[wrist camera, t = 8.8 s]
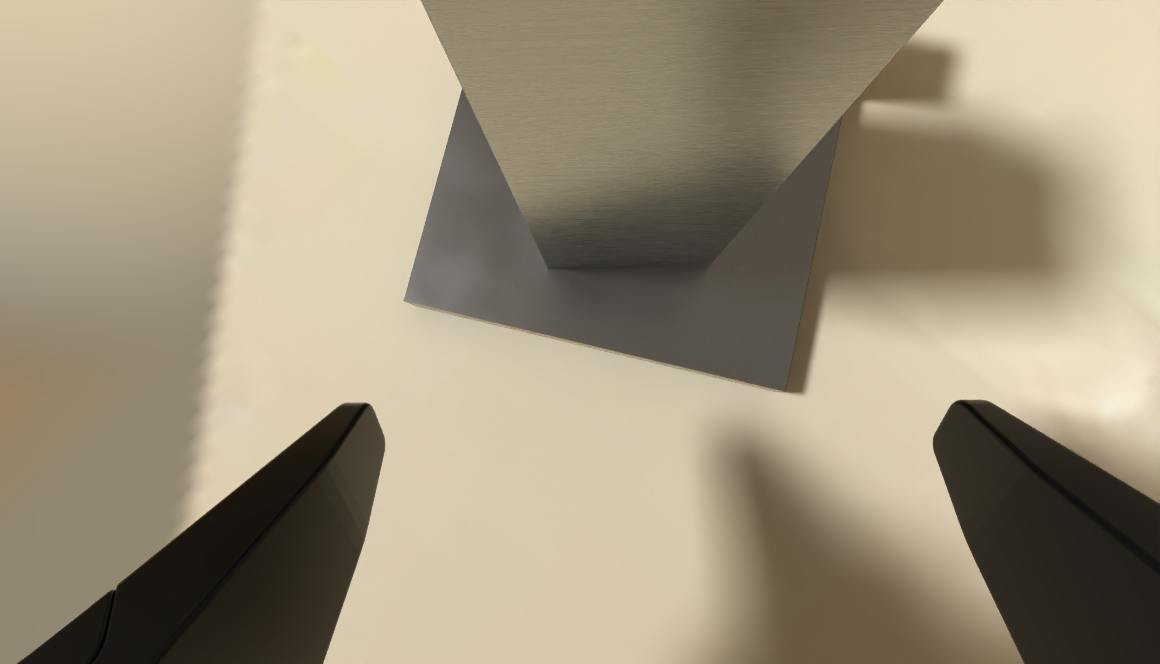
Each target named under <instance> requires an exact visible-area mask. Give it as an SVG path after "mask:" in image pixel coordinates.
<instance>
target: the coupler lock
mask: <svg viewBox="0 0 1160 664" xmlns="http://www.w3.org/2000/svg"><path fill="white" fill-rule="evenodd" d="M421 2H422V4H423V6H424V8H425V10H426V12H427V14H428V17H429V19H430V21H431V23H432V25H433V27H434V29H435V31H436V33H437V36H438V38H439V40H440V42H441V44H442V46H443V48H444V50H445V52H446V55H447V57H448V59H449V61H450V63H451V65H452V67H453V69H454V71H455V73H456V76H457V78H458V80H459V82H460V84H461V86H462V88H463V90H464V92H465V95H466V97H467V99H468V101H469V103H470V105H471V107H472V109H473V111H474V114H475V116H476V118H477V120H478V122H479V124H480V126H481V128H482V130H483V133H484V135H485V137H486V139H487V141H488V143H489V145H490V147H491V149H492V152H493V154H494V156H495V158H496V160H497V162H498V164H499V166H500V168H501V171H502V173H503V175H504V177H505V179H506V181H507V183H508V185H509V187H510V190H511V192H512V194H513V196H514V198H515V200H516V202H517V204H518V206H519V209H520V211H521V213H522V215H523V217H524V219H525V221H526V223H527V225H528V228H529V230H530V232H531V234H532V236H533V238H534V240H535V242H536V244H537V246H538V249H539V251H540V253H541V255H542V257H543V259H544V261H545V263H546V265H547V268H598V267H649V266H699V265H711V263H712V262H713V261H714V260H715V259H716V258H717V257H718V256H719V254H720V253H721V252H722V251H723V250H724V249H725V248H726V246H727V245H728V244H729V243H730V242H731V241H732V240H733V239H734V237H735V236H736V235H737V234H738V233H739V232H740V231H741V229H742V228H743V227H744V226H745V225H746V224H747V223H748V222H749V220H750V219H751V218H752V217H753V216H754V215H755V214H756V212H757V211H758V210H759V209H760V208H761V207H762V206H763V205H764V203H765V202H766V201H767V200H768V199H769V198H770V197H771V195H772V194H773V193H774V192H775V191H776V190H777V189H778V188H779V186H780V185H781V184H782V183H783V182H784V181H785V180H786V178H787V177H788V176H789V175H790V174H791V173H792V172H793V171H794V169H795V168H796V167H797V166H798V165H799V164H800V163H801V161H802V160H803V159H804V158H805V157H806V156H807V155H808V154H809V152H810V151H811V150H812V149H813V148H814V147H815V146H816V144H817V143H818V142H819V141H820V140H821V139H822V138H823V137H824V135H825V134H826V133H827V132H828V131H829V130H830V129H831V127H832V126H833V125H834V124H835V123H836V122H837V121H838V120H839V118H840V117H841V116H842V115H843V114H844V113H845V112H846V110H847V109H848V108H849V107H850V106H851V105H852V104H853V103H854V101H855V100H856V99H857V98H858V97H859V96H860V95H861V93H862V92H863V91H864V90H865V89H866V88H867V87H868V86H869V84H870V83H871V82H872V81H873V80H874V79H875V78H876V76H877V75H878V74H879V73H880V72H881V71H882V70H883V69H884V67H885V66H886V65H887V64H888V63H889V62H890V61H891V59H892V58H893V57H894V56H895V55H896V54H897V53H898V52H899V50H900V49H901V48H902V47H903V46H904V45H905V44H906V42H907V41H908V40H909V39H910V38H911V37H912V36H913V35H914V33H915V32H916V31H917V30H918V29H919V28H920V27H921V25H922V24H923V23H924V22H925V21H926V20H927V19H928V18H929V16H930V15H931V14H932V13H933V12H934V11H935V10H936V8H937V7H938V6H939V5H940V4H941V3H942V2H943V0H421Z"/></svg>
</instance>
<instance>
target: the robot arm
mask: <svg viewBox="0 0 1160 664" xmlns="http://www.w3.org/2000/svg"><path fill="white" fill-rule="evenodd" d="M933 449H934V453H935V456H936V459H937V461H938V464H939V467H940V470H941V473H942V475H943V478H944V481H945V484H946V487H947V490H948V492H949V495H950V498H951V501H952V504H953V506H954V509H955V512H956V515H957V518H958V520H959V523H960V526H961V529H962V531H963V534H964V536H965V539H966V541H967V544H968V546H969V548H970V551H971V553H972V555H973V557H974V560H975V562H976V564H977V566H978V568H979V570H980V572H981V574H982V576H983V578H984V580H985V582H986V585H987V587H988V589H989V591H990V593H991V595H992V597H993V599H994V601H995V603H996V605H997V607H998V610H999V612H1000V614H1001V616H1002V618H1003V620H1004V622H1005V624H1006V626H1007V628H1008V630H1009V632H1010V634H1011V637H1012V639H1013V641H1014V643H1015V645H1016V647H1017V649H1018V651H1019V653H1020V655H1021V657H1022V659H1023V662H1024V664H1160V503H1158V502H1156V501H1155V500H1153V499H1151V498H1150V497H1148V496H1146V495H1145V494H1143V493H1141V492H1140V491H1138V490H1136V489H1135V488H1133V487H1131V486H1130V485H1128V484H1126V483H1125V482H1123V481H1121V480H1120V479H1118V478H1116V477H1115V476H1113V475H1111V474H1110V473H1108V472H1106V471H1105V470H1103V469H1101V468H1100V467H1098V466H1096V465H1095V464H1093V463H1091V462H1090V461H1088V460H1086V459H1085V458H1083V457H1081V456H1080V455H1078V454H1076V453H1075V452H1073V451H1071V450H1070V449H1068V448H1066V447H1065V446H1063V445H1061V444H1060V443H1058V442H1056V441H1055V440H1053V439H1051V438H1050V437H1048V436H1046V435H1045V434H1043V433H1041V432H1040V431H1038V430H1036V429H1035V428H1033V427H1031V426H1030V425H1028V424H1026V423H1025V422H1023V421H1021V420H1020V419H1018V418H1016V417H1015V416H1013V415H1011V414H1010V413H1008V412H1006V411H1005V410H1003V409H1001V408H1000V407H998V406H996V405H995V404H993V403H991V402H989V401H986V400H958V401H956V402H954V403H953V404H952V405H951V406H950V408H949V409H948V411H947V413H946V415H945V416H944V418H943V420H942V422H941V423H940V425H939V427H938V429H937V430H936V432H935V434H934V437H933ZM384 452H385V438H384V434H383V432H382V429H381V427H380V424H379V422H378V419H377V417H376V414H375V411H374V409H373V407H372V406H371V405H370V404H369V403H344V404H341V405H340V406H338V407H337V408H336V409H335V410H333V411H332V412H331V413H330V414H328V415H327V416H326V417H325V418H323V419H322V420H321V421H320V422H318V423H317V424H316V425H315V426H313V427H312V428H311V429H310V430H309V431H307V432H306V433H305V434H304V435H302V436H301V437H300V438H299V439H297V440H296V441H295V442H294V443H292V444H291V445H290V446H289V447H287V448H286V449H285V450H284V451H283V452H281V453H280V454H279V455H278V456H276V457H275V458H274V459H273V460H271V461H270V462H269V463H268V464H266V465H265V466H264V467H263V468H261V469H260V470H259V471H258V472H256V473H255V474H254V475H253V476H252V477H250V478H249V479H248V480H247V481H245V482H244V483H243V484H242V485H240V486H239V487H238V488H237V489H235V490H234V491H233V492H232V493H230V494H229V495H228V496H227V497H226V498H224V499H223V500H222V501H221V502H219V503H218V504H217V505H216V506H214V507H213V508H212V509H211V510H209V511H208V512H207V513H206V514H204V515H203V516H202V517H201V518H200V519H198V520H197V521H196V522H195V523H193V524H192V525H191V526H190V527H188V528H187V529H186V530H185V531H183V532H182V533H181V534H180V535H178V536H177V537H176V538H175V539H173V540H172V541H171V542H170V543H169V544H167V545H166V546H165V547H164V548H162V549H161V550H160V551H159V552H157V553H156V554H155V555H154V556H153V557H151V558H150V559H149V560H147V561H146V562H145V563H144V564H143V565H141V566H140V567H139V568H138V569H136V570H135V571H134V572H133V573H131V574H130V575H129V576H128V577H127V578H125V579H124V580H123V581H121V582H120V583H119V584H118V585H117V588H116V590H110V591H109V592H108V593H106V594H105V595H104V596H103V597H101V598H100V599H99V600H98V601H96V602H95V603H94V604H93V605H91V606H90V607H89V608H88V609H86V610H85V611H84V612H83V613H82V614H80V615H79V616H78V617H77V618H75V619H74V620H73V621H71V622H70V623H69V624H68V625H66V626H65V627H64V628H63V629H61V630H60V631H59V632H57V633H56V634H55V635H54V636H52V637H51V638H50V639H48V640H47V641H46V642H45V643H43V644H42V645H41V646H40V647H38V648H37V649H36V650H34V651H33V652H32V653H31V654H29V655H28V656H27V657H25V658H24V659H23V660H21V661H20V662H19V663H17V664H323V662H324V660H325V657H326V654H327V651H328V648H329V645H330V642H331V639H332V636H333V633H334V630H335V627H336V624H337V621H338V618H339V615H340V612H341V609H342V607H343V604H344V601H345V598H346V595H347V592H348V589H349V586H350V583H351V580H352V577H353V574H354V571H355V568H356V565H357V562H358V559H359V556H360V553H361V550H362V547H363V544H364V541H365V537H366V533H367V529H368V525H369V520H370V516H371V511H372V506H373V502H374V497H375V493H376V488H377V484H378V479H379V475H380V470H381V466H382V461H383V456H384Z"/></svg>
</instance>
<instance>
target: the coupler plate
mask: <svg viewBox="0 0 1160 664" xmlns="http://www.w3.org/2000/svg"><path fill="white" fill-rule="evenodd" d="M841 118H842V116H841V117H840V118H839V120H838V121H837V122H836V123H835V124H834V125H833V126H832V127H831V129H830V130H829V131H828V132H827V133H826V134H825V135H824V137H823V138H822V139H821V140H820V141H819V142H818V143H817V144H816V146H815V147H814V148H813V149H812V150H811V151H810V152H809V154H808V155H807V156H806V157H805V158H804V159H803V160H802V161H801V163H800V164H799V165H798V166H797V167H796V168H795V169H794V171H793V172H792V173H791V174H790V175H789V176H788V177H787V178H786V180H785V181H784V182H783V183H782V184H781V185H780V186H779V188H778V189H777V190H776V191H775V192H774V193H773V194H772V195H771V197H770V198H769V199H768V200H767V201H766V202H765V203H764V205H763V206H762V207H761V208H760V209H759V210H758V211H757V212H756V214H755V215H754V216H753V217H752V218H751V219H750V220H749V222H748V223H747V224H746V225H745V226H744V227H743V228H742V229H741V231H740V232H739V233H738V234H737V235H736V236H735V237H734V239H733V240H732V241H731V242H730V243H729V244H728V245H727V246H726V248H725V249H724V250H723V251H722V252H721V253H720V254H719V256H718V257H717V258H716V259H715V260H714V261H713V262H712V263H711V265H699V266H649V267H598V268H547V265H546V263H545V261H544V259H543V257H542V255H541V253H540V251H539V249H538V246H537V244H536V242H535V240H534V238H533V236H532V234H531V232H530V230H529V228H528V225H527V223H526V221H525V219H524V217H523V215H522V213H521V211H520V209H519V206H518V204H517V202H516V200H515V198H514V196H513V194H512V192H511V190H510V187H509V185H508V183H507V181H506V179H505V177H504V175H503V173H502V171H501V168H500V166H499V164H498V162H497V160H496V158H495V156H494V154H493V152H492V149H491V147H490V145H489V143H488V141H487V139H486V137H485V135H484V133H483V130H482V128H481V126H480V124H479V122H478V120H477V118H476V116H475V114H474V111H473V109H472V107H471V105H470V103H469V101H468V99H467V97H466V95H465V92H464V90H463V88H462V91H461V95H460V99H459V102H458V106H457V109H456V113H455V117H454V120H453V124H452V128H451V131H450V135H449V138H448V142H447V146H446V149H445V153H444V157H443V160H442V164H441V167H440V171H439V175H438V178H437V182H436V186H435V189H434V193H433V196H432V200H431V204H430V207H429V211H428V215H427V218H426V222H425V226H424V229H423V233H422V236H421V240H420V244H419V247H418V251H417V255H416V258H415V262H414V265H413V269H412V273H411V276H410V280H409V284H408V287H407V291H406V294H405V298H404V301H405V302H407V303H410V304H412V305H414V306H418V307H422V308H426V309H431V310H435V311H439V312H443V313H447V314H452V315H456V316H460V317H464V318H468V319H473V320H477V321H481V322H485V323H489V324H494V325H498V326H502V327H506V328H510V329H514V330H519V331H523V332H527V333H531V334H535V335H540V336H544V337H548V338H552V339H556V340H561V341H565V342H569V343H573V344H577V345H582V346H586V347H590V348H594V349H598V350H603V351H607V352H611V353H615V354H619V355H623V356H628V357H632V358H636V359H640V360H644V361H649V362H653V363H657V364H661V365H665V366H670V367H674V368H678V369H682V370H686V371H691V372H695V373H699V374H703V375H707V376H711V377H716V378H720V379H724V380H728V381H732V382H737V383H741V384H745V385H749V386H753V387H758V388H762V389H766V390H770V391H774V392H785V391H786V386H787V381H788V376H789V371H790V366H791V361H792V357H793V352H794V347H795V342H796V337H797V332H798V327H799V322H800V318H801V313H802V308H803V303H804V298H805V293H806V288H807V283H808V279H809V274H810V269H811V264H812V259H813V254H814V249H815V244H816V240H817V235H818V230H819V225H820V220H821V215H822V210H823V205H824V201H825V196H826V191H827V186H828V181H829V176H830V171H831V166H832V162H833V157H834V152H835V147H836V142H837V137H838V132H839V127H840V123H841Z"/></svg>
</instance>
